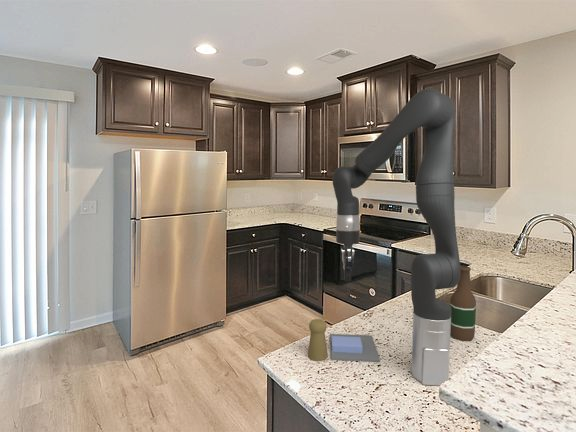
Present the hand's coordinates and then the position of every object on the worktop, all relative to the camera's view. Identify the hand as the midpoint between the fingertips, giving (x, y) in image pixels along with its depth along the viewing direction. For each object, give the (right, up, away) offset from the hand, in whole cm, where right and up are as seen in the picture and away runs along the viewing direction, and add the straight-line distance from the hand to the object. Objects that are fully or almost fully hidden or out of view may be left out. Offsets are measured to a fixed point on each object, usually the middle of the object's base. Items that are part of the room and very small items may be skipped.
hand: (347, 280), depth 113 cm
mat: (+1, -20, -5) cm, 21 cm away
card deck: (-1, -18, -3) cm, 19 cm away
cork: (-11, -21, -10) cm, 26 cm away
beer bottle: (+39, -19, +2) cm, 43 cm away
